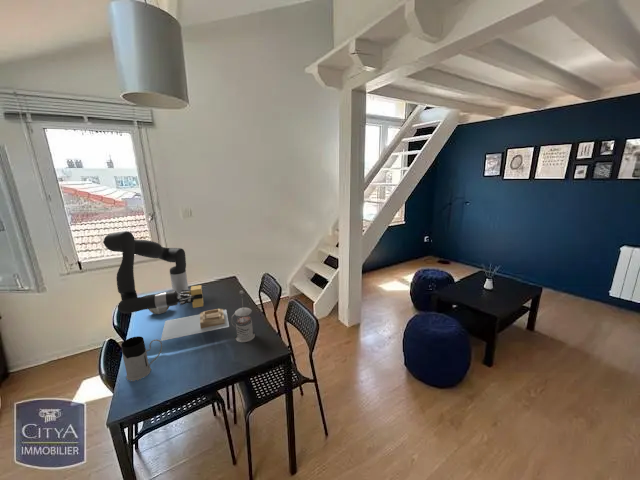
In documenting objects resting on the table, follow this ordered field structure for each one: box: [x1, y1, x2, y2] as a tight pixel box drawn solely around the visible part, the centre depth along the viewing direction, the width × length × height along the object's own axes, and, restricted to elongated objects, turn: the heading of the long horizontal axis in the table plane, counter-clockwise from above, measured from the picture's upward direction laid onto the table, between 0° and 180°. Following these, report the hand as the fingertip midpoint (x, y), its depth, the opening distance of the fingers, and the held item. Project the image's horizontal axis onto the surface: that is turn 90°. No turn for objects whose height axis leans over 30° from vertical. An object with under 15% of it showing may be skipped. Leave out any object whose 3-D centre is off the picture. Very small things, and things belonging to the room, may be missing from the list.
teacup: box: [148, 306, 171, 315], centre depth 160 cm, size 15×12×8 cm
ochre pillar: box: [190, 284, 204, 309], centre depth 146 cm, size 5×5×10 cm
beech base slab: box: [199, 308, 225, 328], centre depth 151 cm, size 12×12×4 cm
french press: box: [230, 290, 256, 343], centre depth 136 cm, size 10×12×25 cm
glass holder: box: [120, 336, 163, 382], centre depth 113 cm, size 9×14×15 cm, turn 114°
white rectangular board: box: [160, 309, 230, 342], centre depth 149 cm, size 20×32×1 cm, turn 113°
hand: (202, 293), depth 146 cm, fingers closed on ochre pillar, 5 cm apart
